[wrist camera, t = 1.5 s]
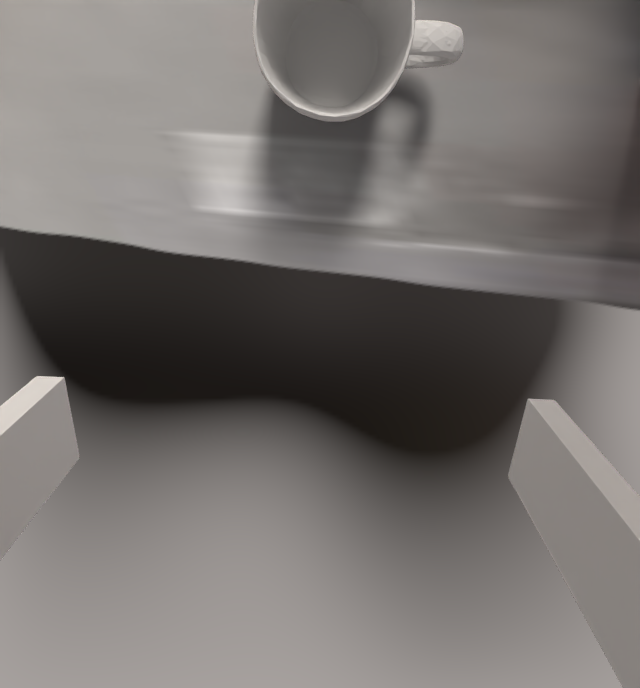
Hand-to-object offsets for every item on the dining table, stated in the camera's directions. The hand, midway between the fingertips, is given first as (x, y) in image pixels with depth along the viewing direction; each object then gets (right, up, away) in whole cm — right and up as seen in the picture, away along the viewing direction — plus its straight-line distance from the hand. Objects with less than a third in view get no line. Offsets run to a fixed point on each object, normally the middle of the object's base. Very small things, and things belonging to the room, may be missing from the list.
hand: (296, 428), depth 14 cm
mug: (+3, +24, +21) cm, 32 cm away
